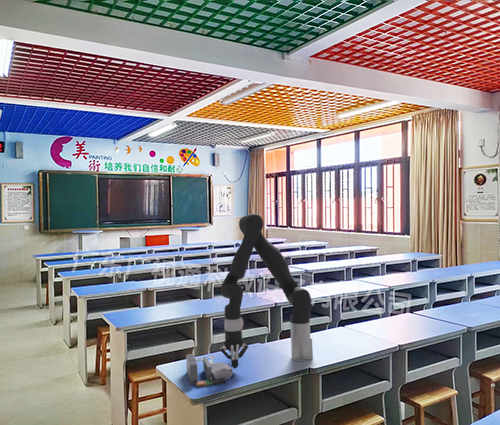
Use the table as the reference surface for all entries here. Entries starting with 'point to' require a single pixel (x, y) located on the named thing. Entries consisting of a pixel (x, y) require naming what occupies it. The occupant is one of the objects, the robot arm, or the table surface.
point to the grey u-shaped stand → (194, 375)
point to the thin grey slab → (207, 368)
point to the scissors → (209, 357)
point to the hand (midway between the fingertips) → (234, 367)
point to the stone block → (221, 371)
